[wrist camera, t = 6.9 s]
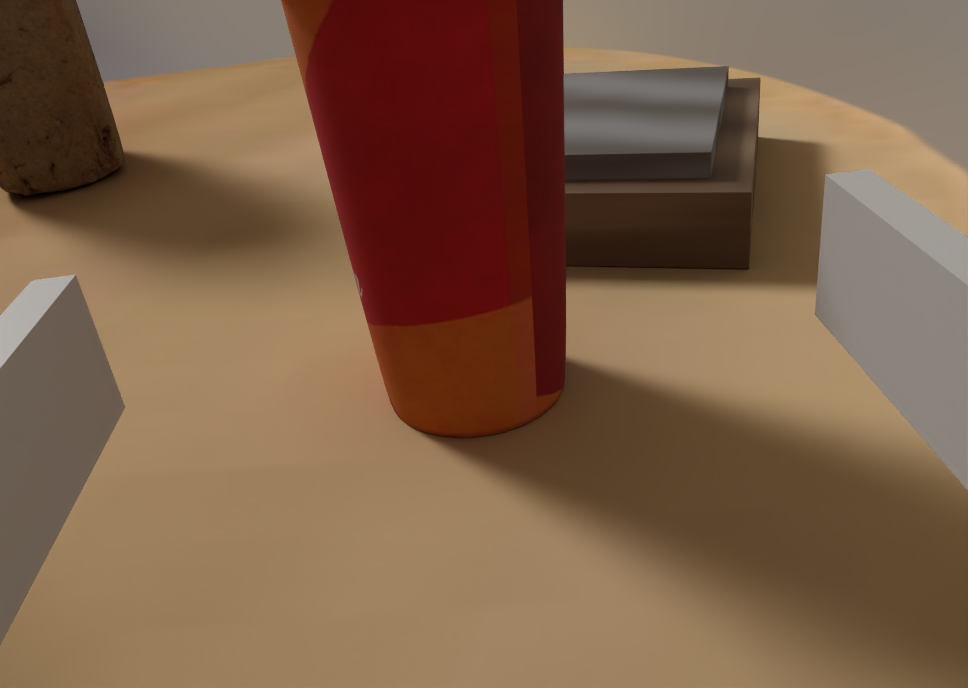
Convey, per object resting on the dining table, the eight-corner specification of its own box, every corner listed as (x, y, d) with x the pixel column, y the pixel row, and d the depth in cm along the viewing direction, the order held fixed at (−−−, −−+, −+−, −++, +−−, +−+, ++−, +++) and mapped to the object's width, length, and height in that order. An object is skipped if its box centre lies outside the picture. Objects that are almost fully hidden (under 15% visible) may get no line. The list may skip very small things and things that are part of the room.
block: (136, 180, 52) (8, -224, 42) (-2, 213, 49) (-172, -208, 40) (116, 140, 61) (6, -202, 51) (-2, 166, 58) (-142, -188, 48)
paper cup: (490, 306, 33) (439, -119, 26) (651, 377, 27) (640, -136, 21) (307, 396, 29) (188, -81, 22) (454, 500, 23) (358, -89, 16)
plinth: (748, 268, 33) (752, 165, 31) (356, 261, 38) (338, 171, 36) (758, 136, 46) (761, 57, 44) (465, 143, 51) (457, 72, 49)
